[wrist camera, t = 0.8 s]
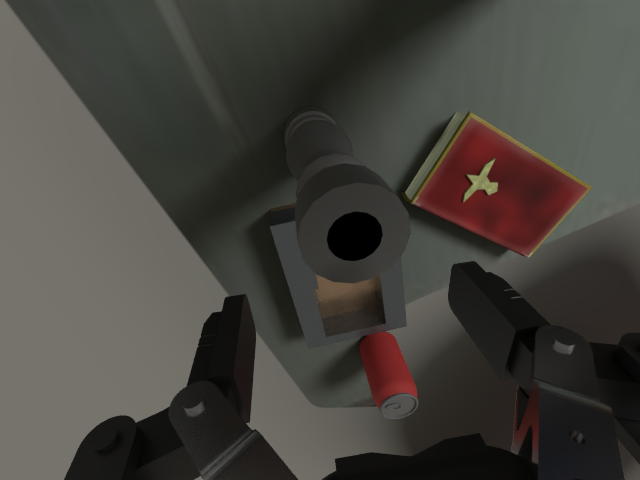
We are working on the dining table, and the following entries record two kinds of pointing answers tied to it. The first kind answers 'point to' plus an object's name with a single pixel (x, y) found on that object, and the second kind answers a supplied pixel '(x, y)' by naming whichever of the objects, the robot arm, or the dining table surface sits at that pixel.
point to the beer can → (388, 376)
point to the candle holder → (341, 203)
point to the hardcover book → (494, 186)
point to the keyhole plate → (336, 293)
